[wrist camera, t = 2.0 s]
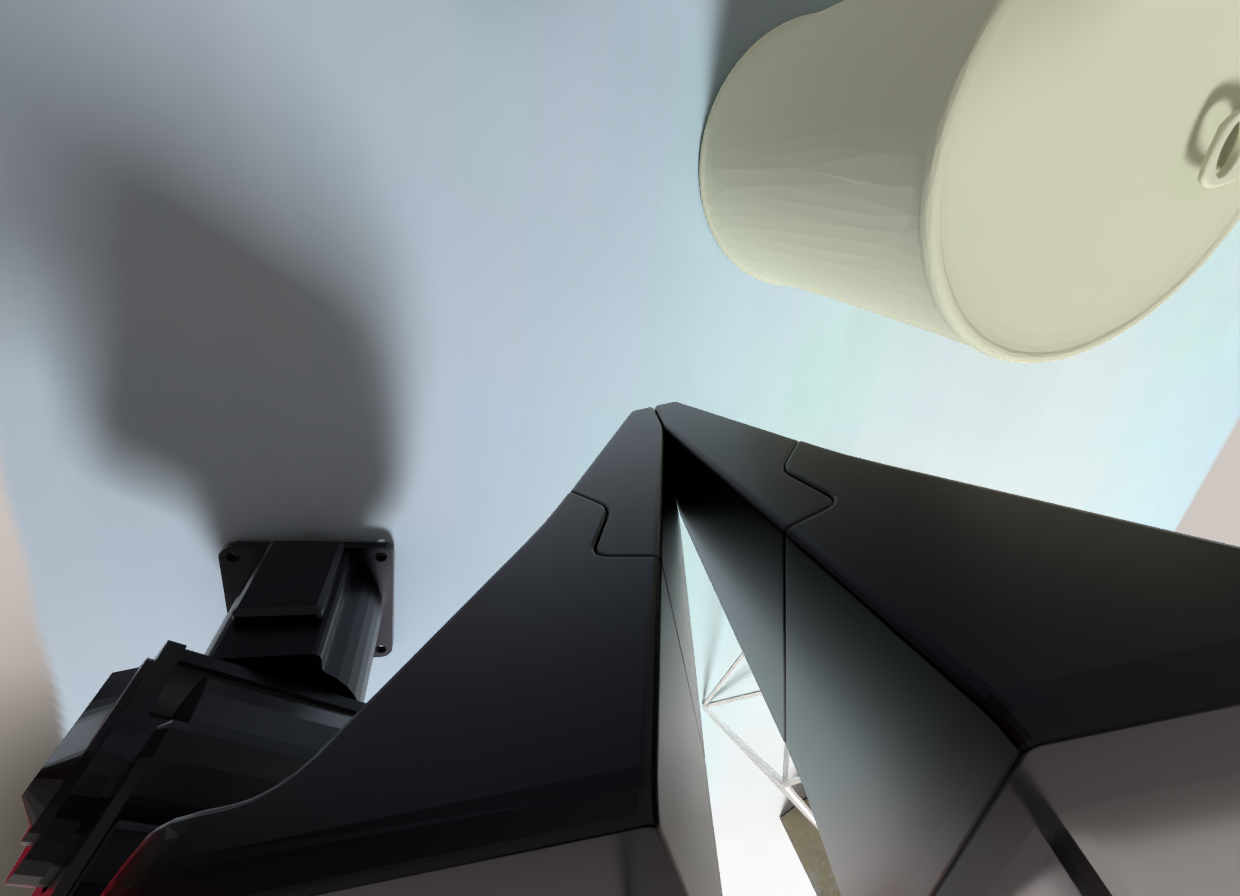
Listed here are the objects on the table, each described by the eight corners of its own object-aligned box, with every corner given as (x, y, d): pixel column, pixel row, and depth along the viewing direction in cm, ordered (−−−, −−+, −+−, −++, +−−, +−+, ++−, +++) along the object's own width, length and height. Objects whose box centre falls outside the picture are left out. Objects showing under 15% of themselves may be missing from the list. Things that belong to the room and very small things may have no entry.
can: (885, 275, 23) (1213, 350, 13) (694, 293, 21) (899, 397, 11) (936, 16, 19) (1486, -181, 9) (701, 11, 17) (1048, -247, 7)
